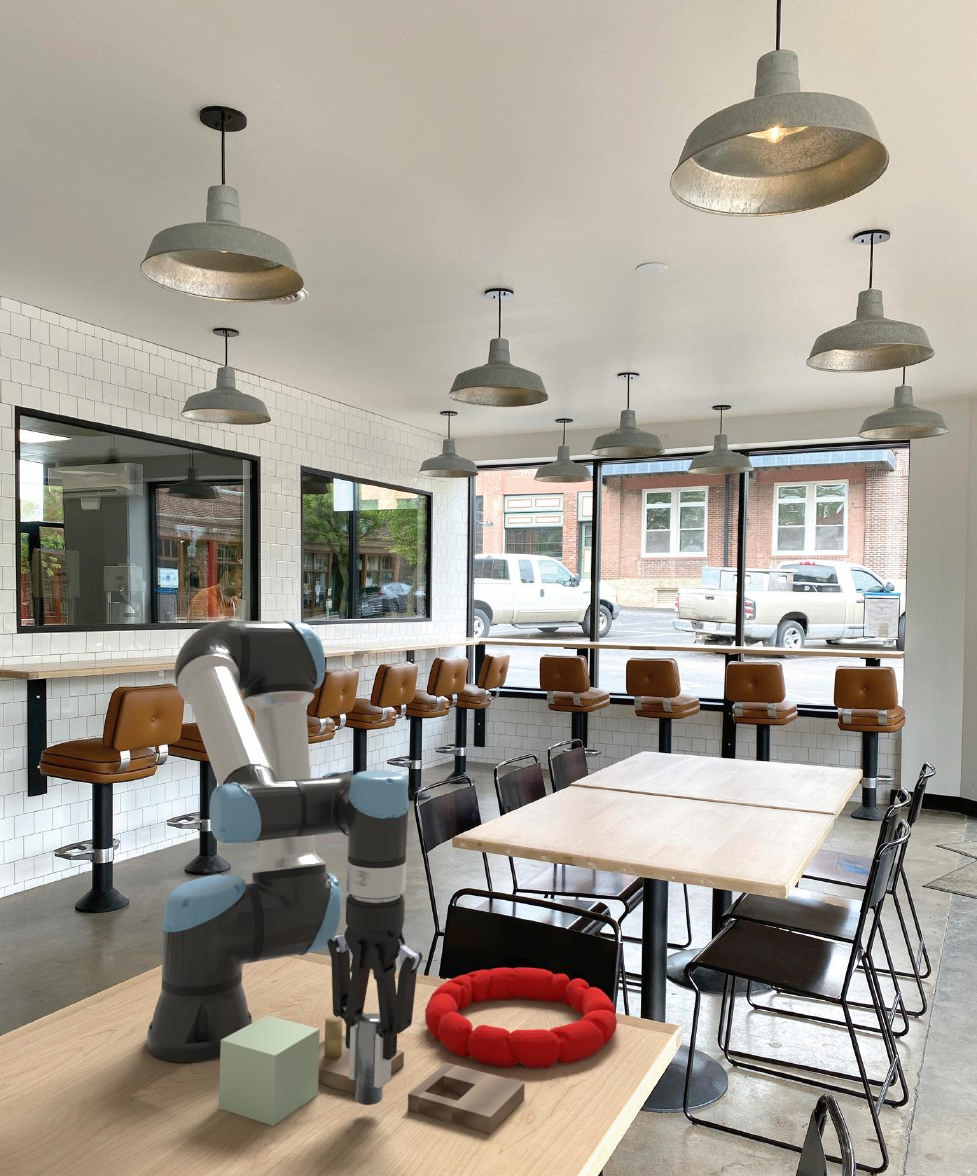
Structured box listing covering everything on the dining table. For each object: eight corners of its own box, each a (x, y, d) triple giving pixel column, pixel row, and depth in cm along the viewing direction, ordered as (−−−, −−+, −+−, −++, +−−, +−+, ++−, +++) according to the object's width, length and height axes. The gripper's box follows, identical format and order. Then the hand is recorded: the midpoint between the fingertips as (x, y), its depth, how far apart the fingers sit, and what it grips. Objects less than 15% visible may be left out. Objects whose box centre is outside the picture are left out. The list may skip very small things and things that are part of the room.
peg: (350, 1099, 118) (352, 1019, 118) (367, 1088, 121) (370, 1010, 121) (370, 1107, 116) (372, 1027, 116) (387, 1096, 119) (390, 1017, 119)
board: (291, 1075, 129) (293, 1023, 129) (335, 1047, 137) (336, 999, 138) (363, 1096, 123) (364, 1042, 123) (403, 1065, 132) (404, 1015, 132)
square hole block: (407, 1109, 120) (408, 1093, 120) (446, 1077, 129) (446, 1062, 129) (490, 1133, 114) (490, 1117, 114) (524, 1098, 123) (524, 1083, 123)
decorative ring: (609, 1050, 128) (622, 958, 157) (400, 1029, 134) (450, 943, 163) (609, 1102, 128) (622, 999, 157) (401, 1077, 134) (450, 983, 164)
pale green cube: (218, 1108, 119) (220, 1040, 120) (265, 1078, 127) (267, 1015, 128) (273, 1126, 115) (275, 1055, 116) (318, 1094, 123) (319, 1028, 124)
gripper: (307, 891, 119) (300, 1075, 119) (414, 913, 112) (407, 1109, 111) (341, 877, 126) (335, 1051, 126) (445, 897, 119) (439, 1082, 118)
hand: (369, 1078), depth 118 cm, fingers closed on peg, 3 cm apart
